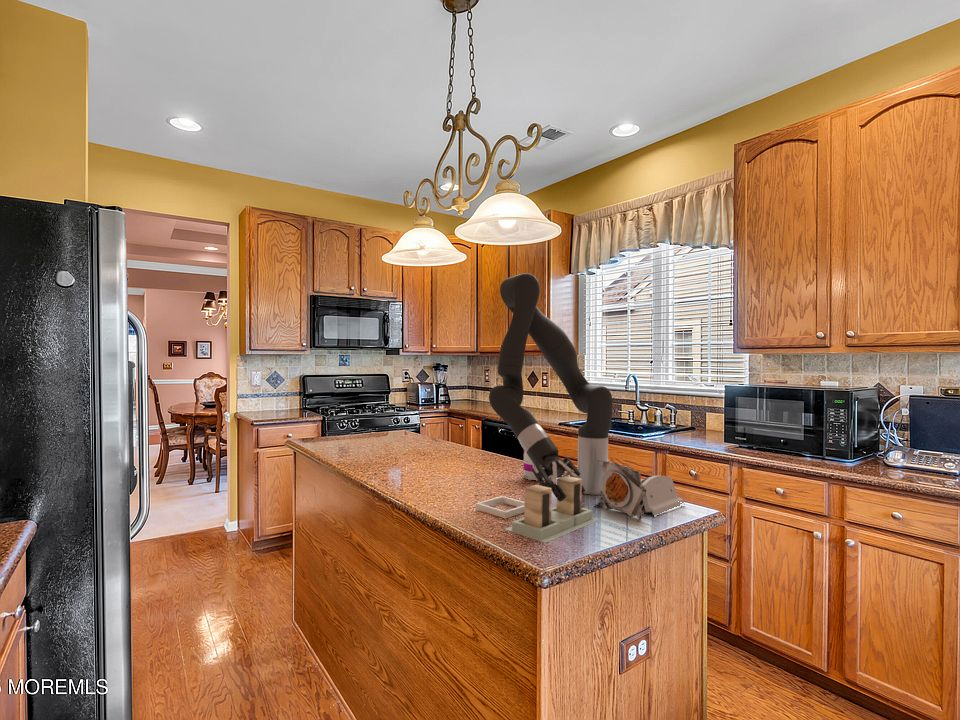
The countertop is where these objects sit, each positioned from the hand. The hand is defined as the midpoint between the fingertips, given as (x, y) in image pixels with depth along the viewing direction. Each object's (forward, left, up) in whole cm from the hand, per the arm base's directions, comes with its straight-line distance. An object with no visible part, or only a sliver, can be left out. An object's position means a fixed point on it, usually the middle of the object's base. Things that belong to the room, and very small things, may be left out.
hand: (573, 496), depth 127 cm
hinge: (-30, +4, -7) cm, 31 cm away
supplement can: (-23, -40, -7) cm, 47 cm away
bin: (+10, -16, -7) cm, 20 cm away
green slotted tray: (+7, 0, -7) cm, 10 cm away
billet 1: (+13, +1, -6) cm, 14 cm away
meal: (-16, +1, -7) cm, 18 cm away
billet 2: (0, -1, -6) cm, 6 cm away
